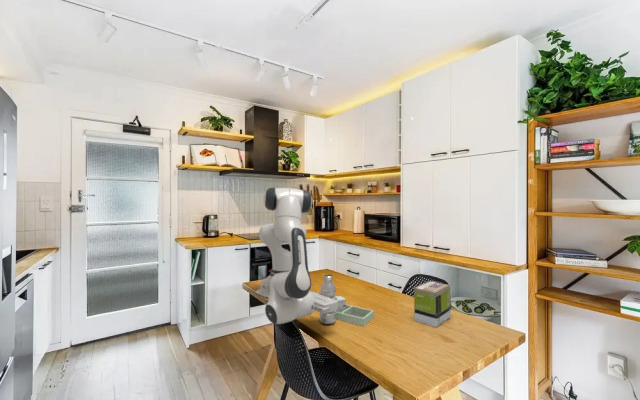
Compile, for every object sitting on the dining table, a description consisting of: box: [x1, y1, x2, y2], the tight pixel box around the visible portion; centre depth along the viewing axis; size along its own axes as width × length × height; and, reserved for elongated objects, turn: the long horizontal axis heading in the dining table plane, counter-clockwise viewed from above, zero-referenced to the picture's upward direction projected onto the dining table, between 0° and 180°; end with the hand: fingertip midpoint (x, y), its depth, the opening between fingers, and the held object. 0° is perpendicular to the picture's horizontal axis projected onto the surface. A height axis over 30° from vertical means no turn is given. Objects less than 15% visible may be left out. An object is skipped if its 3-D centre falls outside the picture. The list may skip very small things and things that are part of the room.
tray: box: [319, 304, 375, 327], centre depth 132 cm, size 21×11×3 cm, turn 57°
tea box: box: [413, 280, 451, 328], centre depth 130 cm, size 15×10×15 cm, turn 134°
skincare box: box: [335, 295, 347, 313], centre depth 135 cm, size 6×6×7 cm
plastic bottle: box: [319, 274, 337, 325], centre depth 125 cm, size 6×7×20 cm
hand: (329, 296), depth 125 cm, fingers closed on plastic bottle, 6 cm apart
